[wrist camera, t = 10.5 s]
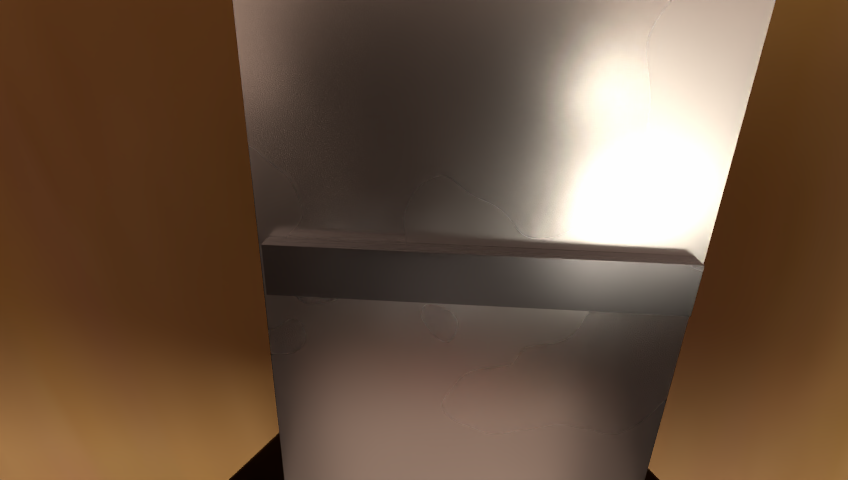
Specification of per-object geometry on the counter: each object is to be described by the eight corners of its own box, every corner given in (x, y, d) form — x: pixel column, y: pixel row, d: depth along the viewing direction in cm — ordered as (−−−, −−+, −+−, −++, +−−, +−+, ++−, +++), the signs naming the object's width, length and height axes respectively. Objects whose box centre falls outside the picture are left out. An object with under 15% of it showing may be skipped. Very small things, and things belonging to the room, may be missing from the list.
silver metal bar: (630, -95, 7) (864, -247, 3) (513, 633, 13) (539, 888, 9) (335, -102, 7) (192, -256, 3) (359, 622, 13) (322, 869, 9)
